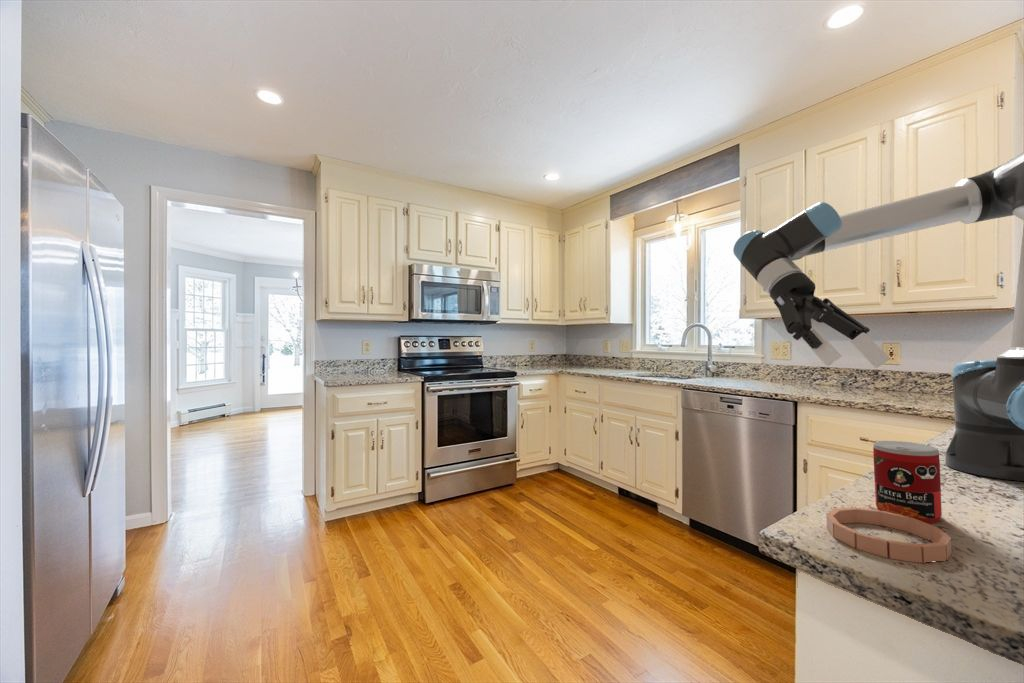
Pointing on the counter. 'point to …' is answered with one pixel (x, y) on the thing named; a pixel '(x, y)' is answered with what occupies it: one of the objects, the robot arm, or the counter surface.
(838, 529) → the ring
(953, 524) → the counter surface
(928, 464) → the canned food
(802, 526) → the counter surface
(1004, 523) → the counter surface
